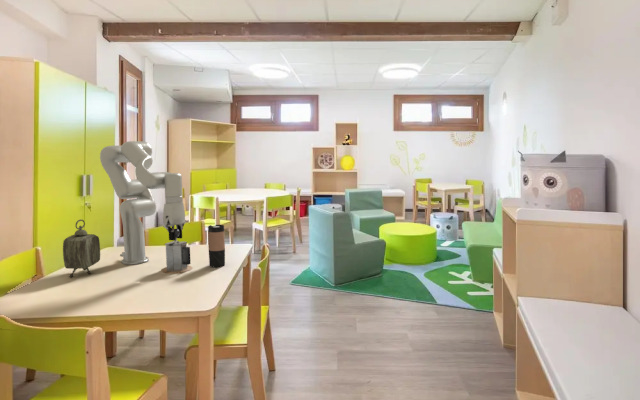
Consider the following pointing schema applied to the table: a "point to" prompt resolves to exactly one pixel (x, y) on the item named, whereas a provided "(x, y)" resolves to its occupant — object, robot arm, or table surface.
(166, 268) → the disc
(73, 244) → the tabletop clock
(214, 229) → the travel mug
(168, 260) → the grey slotted housing
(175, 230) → the plunger
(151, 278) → the table surface
